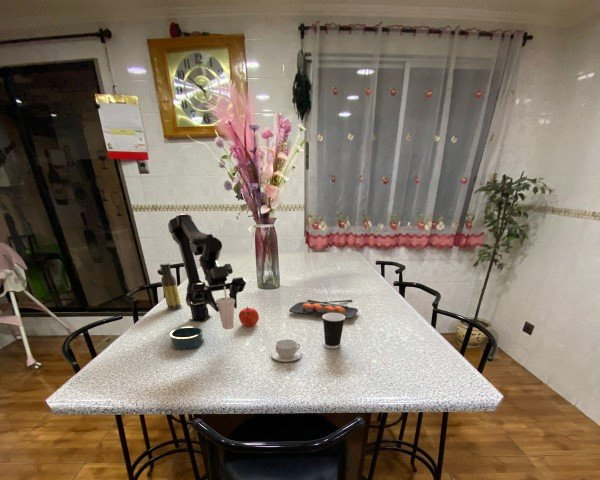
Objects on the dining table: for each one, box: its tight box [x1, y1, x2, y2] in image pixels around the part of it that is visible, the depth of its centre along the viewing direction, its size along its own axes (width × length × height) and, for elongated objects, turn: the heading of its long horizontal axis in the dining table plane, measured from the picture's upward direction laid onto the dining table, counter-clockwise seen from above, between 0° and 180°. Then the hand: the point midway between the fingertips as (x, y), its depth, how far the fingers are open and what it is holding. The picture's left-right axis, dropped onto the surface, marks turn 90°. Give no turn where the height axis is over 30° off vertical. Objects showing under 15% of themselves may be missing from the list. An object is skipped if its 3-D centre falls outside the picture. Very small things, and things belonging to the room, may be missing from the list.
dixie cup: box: [321, 313, 346, 350], centre depth 126 cm, size 8×8×11 cm
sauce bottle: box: [159, 262, 182, 311], centre depth 162 cm, size 6×6×20 cm
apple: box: [238, 306, 260, 328], centre depth 145 cm, size 8×8×8 cm
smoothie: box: [215, 287, 235, 330], centre depth 124 cm, size 6×6×14 cm
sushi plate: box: [289, 299, 359, 320], centre depth 164 cm, size 29×30×4 cm
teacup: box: [271, 338, 302, 363], centre depth 121 cm, size 10×10×5 cm
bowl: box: [169, 326, 205, 351], centre depth 130 cm, size 11×11×4 cm
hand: (227, 309), depth 123 cm, fingers closed on smoothie, 6 cm apart
